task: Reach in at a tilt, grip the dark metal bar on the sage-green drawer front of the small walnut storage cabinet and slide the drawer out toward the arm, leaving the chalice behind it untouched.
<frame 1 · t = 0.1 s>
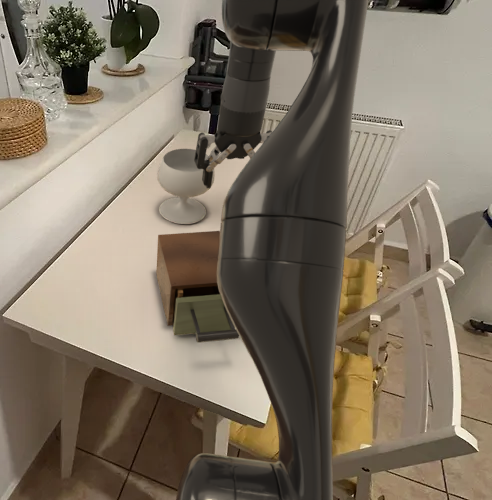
hand: (229, 185, 82), 21 cm above the table, tool pointing down, fingers open, 8 cm apart
chalice: (182, 212, 112), on the table
drawer: (202, 303, 80), point 5 cm above the table, slide at 2.0 cm
cabinet: (192, 295, 89), on the table
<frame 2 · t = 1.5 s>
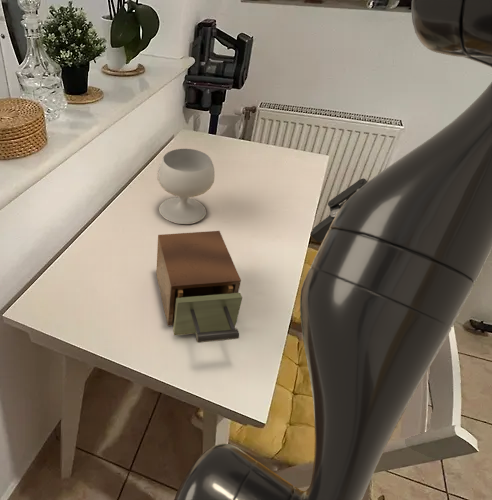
hand: (328, 257, 60), 25 cm above the table, tool tilted 45°, fingers open, 8 cm apart
nothing on the table moved.
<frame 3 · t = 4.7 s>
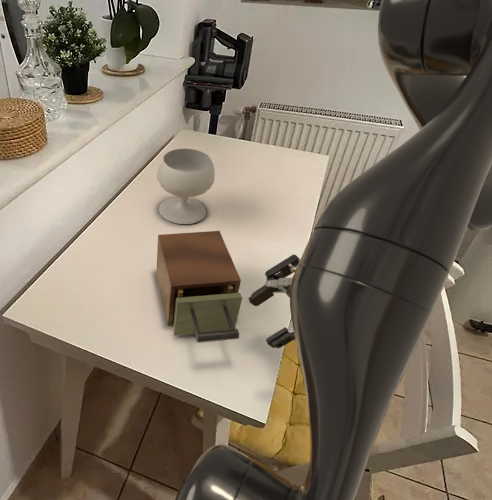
hand: (260, 322, 68), 12 cm above the table, tool tilted 45°, fingers open, 8 cm apart
nothing on the table moved.
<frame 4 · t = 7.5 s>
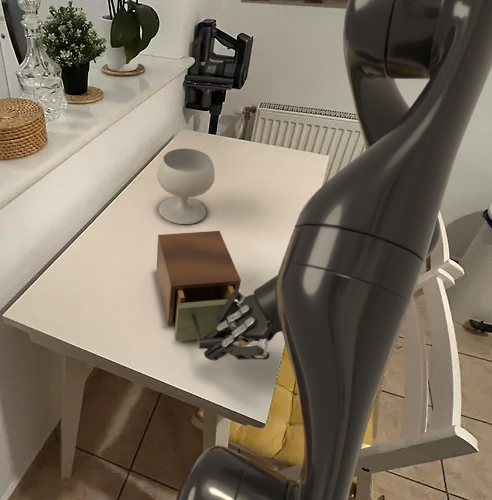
hand: (205, 351, 72), 5 cm above the table, tool tilted 45°, fingers closed on drawer
drawer: (204, 308, 79), point 5 cm above the table, slide at 3.3 cm, touching gripper
everything else where it was.
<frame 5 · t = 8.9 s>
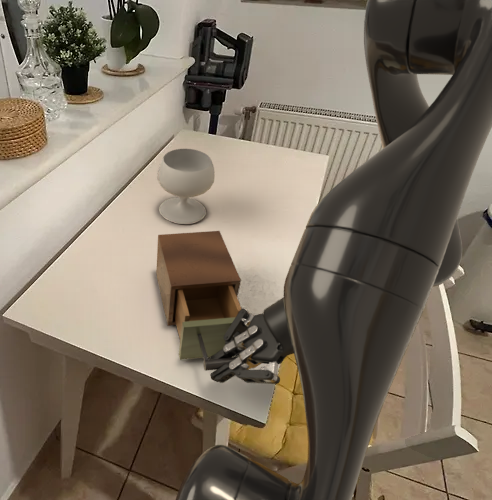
hand: (212, 372, 69), 5 cm above the table, tool tilted 45°, fingers closed on drawer
drawer: (210, 325, 76), point 5 cm above the table, slide at 7.4 cm, touching gripper
everything else where it was.
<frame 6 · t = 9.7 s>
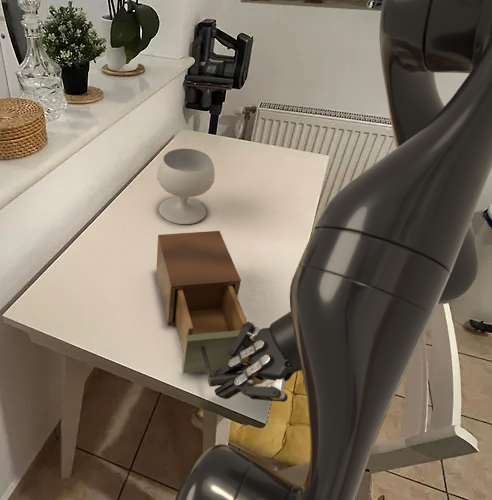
hand: (216, 387, 66), 5 cm above the table, tool tilted 45°, fingers closed on drawer
drawer: (214, 338, 74), point 5 cm above the table, slide at 10.2 cm, touching gripper
everything else where it was.
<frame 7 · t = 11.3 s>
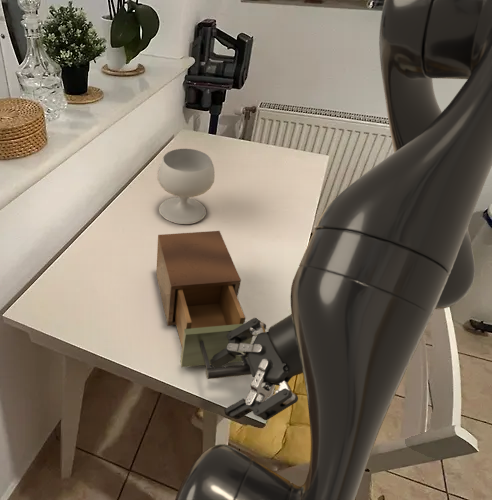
hand: (220, 388, 66), 5 cm above the table, tool tilted 45°, fingers open, 8 cm apart
drawer: (212, 332, 75), point 5 cm above the table, slide at 9.0 cm
everything else where it was.
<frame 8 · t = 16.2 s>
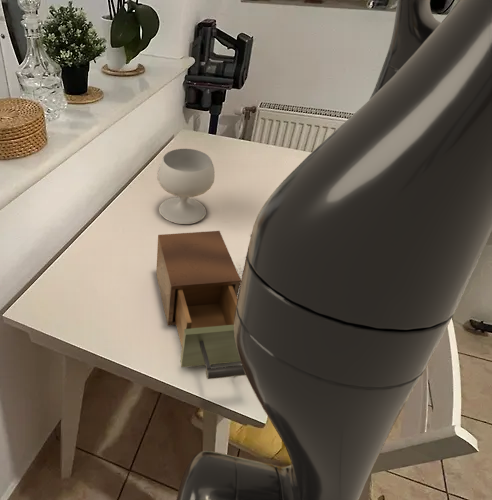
hand: (346, 248, 57), 28 cm above the table, tool pointing down, fingers open, 8 cm apart
nothing on the table moved.
at the end: drawer slide at 9.0 cm; the gripper is holding nothing; chalice moved 0.2 cm from its start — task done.
